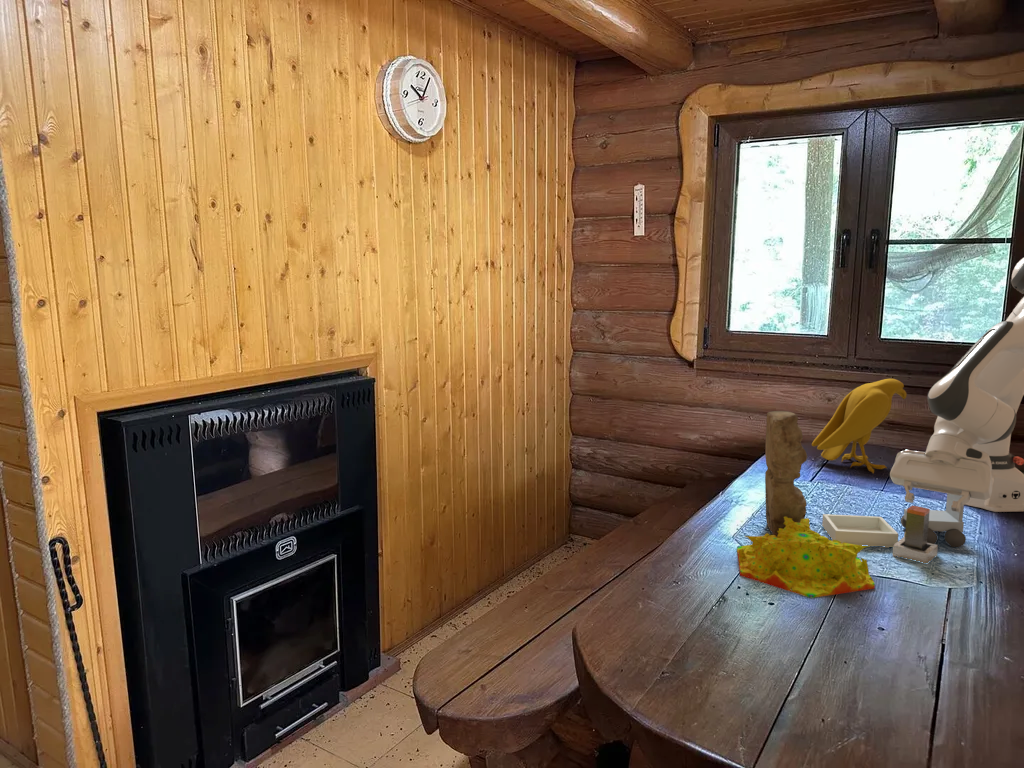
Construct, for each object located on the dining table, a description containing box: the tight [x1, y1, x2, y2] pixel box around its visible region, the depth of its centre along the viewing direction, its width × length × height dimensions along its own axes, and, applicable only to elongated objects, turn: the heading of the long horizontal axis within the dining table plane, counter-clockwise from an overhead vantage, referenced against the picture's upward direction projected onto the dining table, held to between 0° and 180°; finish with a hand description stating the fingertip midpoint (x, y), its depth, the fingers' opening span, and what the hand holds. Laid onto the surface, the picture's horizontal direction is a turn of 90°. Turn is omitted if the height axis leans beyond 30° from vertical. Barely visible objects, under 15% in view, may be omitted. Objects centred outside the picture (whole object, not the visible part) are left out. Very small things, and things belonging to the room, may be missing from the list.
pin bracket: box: [891, 536, 939, 564], centre depth 158 cm, size 7×7×2 cm
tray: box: [821, 513, 899, 548], centre depth 169 cm, size 14×12×3 cm
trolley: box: [900, 493, 967, 548], centre depth 167 cm, size 10×11×12 cm
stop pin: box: [904, 504, 931, 551], centre depth 157 cm, size 4×4×11 cm
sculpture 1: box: [764, 410, 808, 537], centre depth 171 cm, size 12×9×30 cm
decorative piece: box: [736, 516, 876, 599], centre depth 152 cm, size 26×8×30 cm
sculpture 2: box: [811, 378, 908, 474], centre depth 229 cm, size 20×27×30 cm
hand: (931, 505), depth 159 cm, fingers open, 8 cm apart
